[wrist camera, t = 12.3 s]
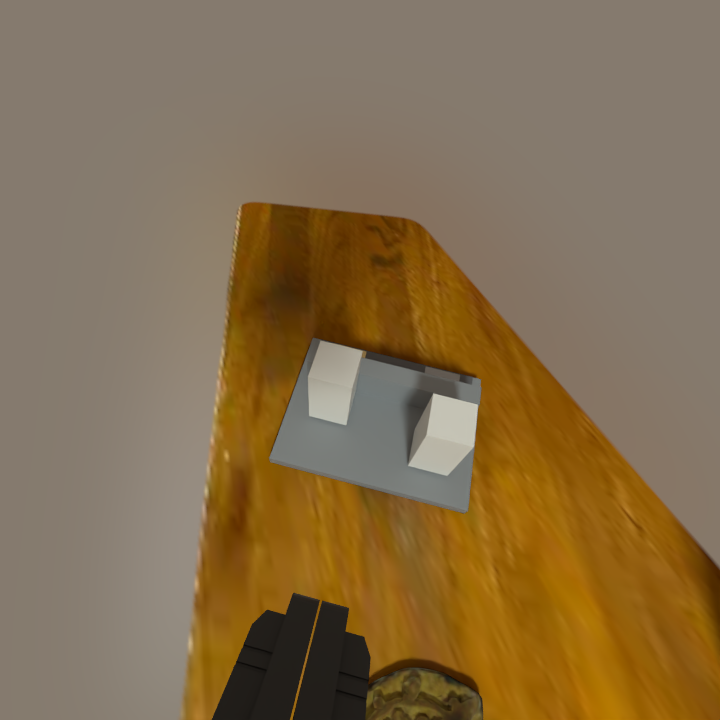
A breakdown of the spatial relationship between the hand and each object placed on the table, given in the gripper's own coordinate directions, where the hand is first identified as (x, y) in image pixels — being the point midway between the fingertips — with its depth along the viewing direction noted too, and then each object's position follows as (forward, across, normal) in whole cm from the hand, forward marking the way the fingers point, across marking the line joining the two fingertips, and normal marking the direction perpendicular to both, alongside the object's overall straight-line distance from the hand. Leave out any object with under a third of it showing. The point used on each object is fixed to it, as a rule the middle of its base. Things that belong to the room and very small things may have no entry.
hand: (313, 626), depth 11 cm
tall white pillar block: (+34, +4, +6) cm, 35 cm away
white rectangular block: (+32, -7, +8) cm, 34 cm away
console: (+35, -2, +7) cm, 36 cm away
